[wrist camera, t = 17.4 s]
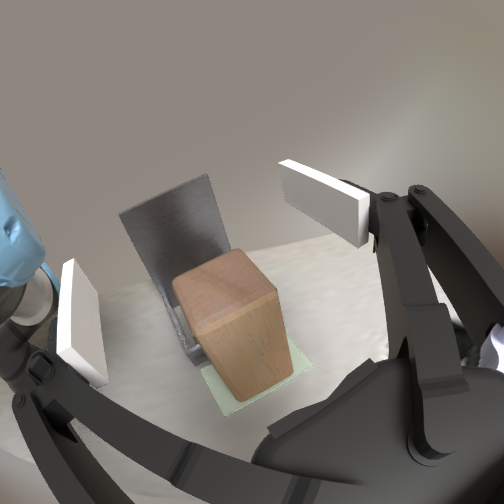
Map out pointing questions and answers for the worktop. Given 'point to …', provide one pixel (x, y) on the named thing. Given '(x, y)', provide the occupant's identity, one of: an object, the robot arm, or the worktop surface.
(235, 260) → the wooden block
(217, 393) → the mat
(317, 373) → the worktop surface
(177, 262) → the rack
